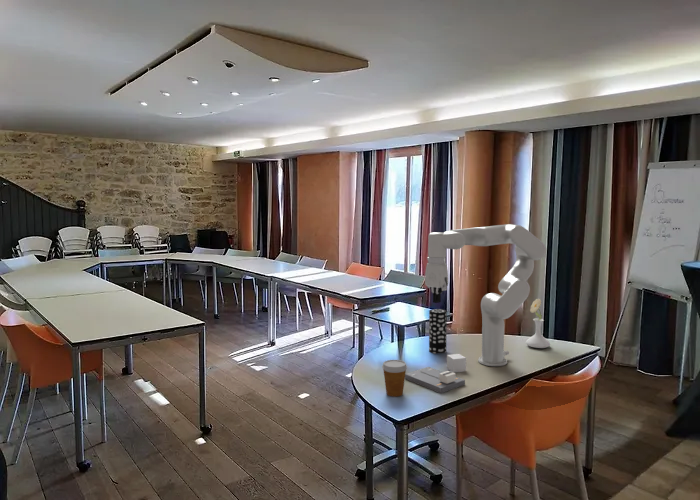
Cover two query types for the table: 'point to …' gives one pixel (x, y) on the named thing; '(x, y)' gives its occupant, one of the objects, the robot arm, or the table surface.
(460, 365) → the white cube
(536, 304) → the flower in vase
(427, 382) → the console
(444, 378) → the fader
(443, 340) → the spotted tube
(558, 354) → the table surface
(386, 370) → the disposable coffee cup
